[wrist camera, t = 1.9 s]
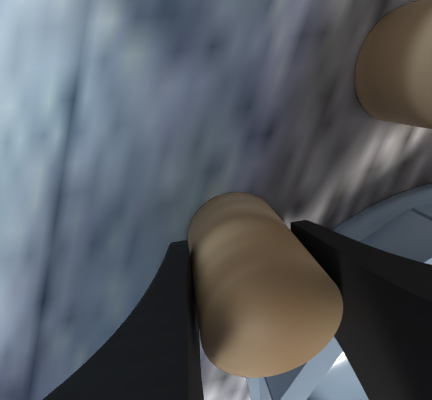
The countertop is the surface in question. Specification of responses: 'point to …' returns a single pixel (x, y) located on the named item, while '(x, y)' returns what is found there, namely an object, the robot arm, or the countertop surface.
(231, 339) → the bead
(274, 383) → the ring tray
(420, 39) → the bead
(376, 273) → the robot arm
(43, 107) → the countertop surface
